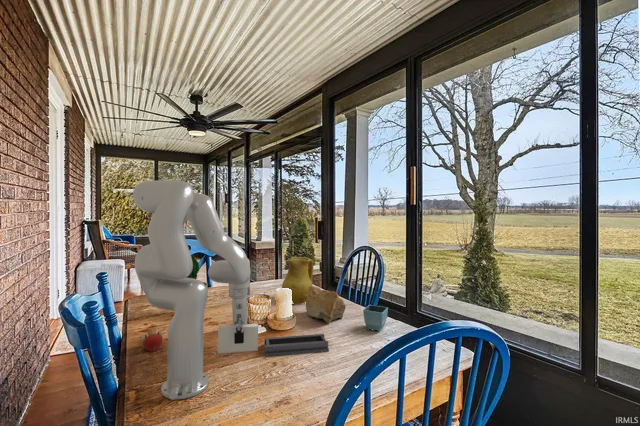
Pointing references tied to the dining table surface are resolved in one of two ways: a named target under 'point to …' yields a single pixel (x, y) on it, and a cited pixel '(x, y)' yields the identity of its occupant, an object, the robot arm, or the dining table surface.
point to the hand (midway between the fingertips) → (239, 337)
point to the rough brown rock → (324, 304)
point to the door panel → (227, 339)
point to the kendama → (152, 340)
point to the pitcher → (299, 278)
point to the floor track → (295, 345)
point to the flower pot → (375, 317)
